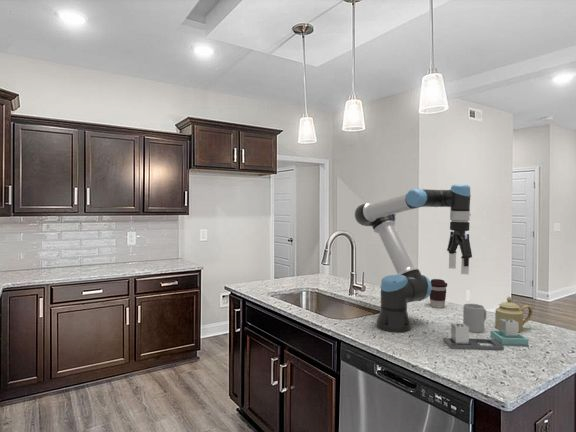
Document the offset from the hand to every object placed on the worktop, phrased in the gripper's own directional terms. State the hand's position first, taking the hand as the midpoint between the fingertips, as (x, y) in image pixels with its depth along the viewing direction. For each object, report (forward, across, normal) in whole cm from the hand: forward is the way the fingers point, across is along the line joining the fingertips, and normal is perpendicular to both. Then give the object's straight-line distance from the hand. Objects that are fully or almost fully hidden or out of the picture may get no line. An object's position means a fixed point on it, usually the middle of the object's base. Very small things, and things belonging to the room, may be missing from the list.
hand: (458, 271), depth 163 cm
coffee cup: (+29, +50, -9) cm, 59 cm away
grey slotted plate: (+28, -10, -3) cm, 30 cm away
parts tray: (+28, -4, -20) cm, 35 cm away
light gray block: (+28, -10, +2) cm, 30 cm away
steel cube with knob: (+28, -4, -20) cm, 34 cm away
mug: (+29, +11, -13) cm, 33 cm away
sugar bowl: (+28, +14, -30) cm, 44 cm away
